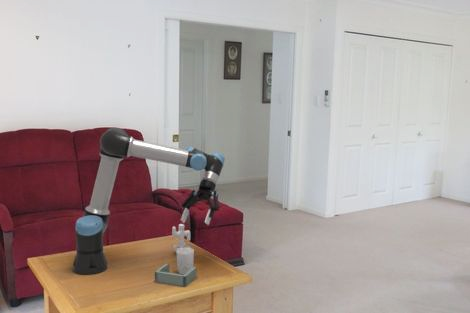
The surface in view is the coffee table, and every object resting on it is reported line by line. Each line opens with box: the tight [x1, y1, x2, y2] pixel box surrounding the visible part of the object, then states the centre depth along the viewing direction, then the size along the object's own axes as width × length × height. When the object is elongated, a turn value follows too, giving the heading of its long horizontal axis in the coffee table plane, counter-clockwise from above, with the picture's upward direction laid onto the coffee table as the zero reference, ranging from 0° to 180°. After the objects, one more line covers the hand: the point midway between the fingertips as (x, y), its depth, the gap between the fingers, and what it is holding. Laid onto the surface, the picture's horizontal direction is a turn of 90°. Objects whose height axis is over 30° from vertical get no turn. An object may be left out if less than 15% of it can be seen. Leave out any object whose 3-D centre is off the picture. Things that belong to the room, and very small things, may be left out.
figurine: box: [171, 223, 192, 254], centre depth 239 cm, size 7×9×15 cm
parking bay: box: [154, 262, 197, 288], centre depth 206 cm, size 14×11×4 cm
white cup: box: [175, 247, 195, 275], centre depth 215 cm, size 8×8×10 cm
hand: (194, 222), depth 218 cm, fingers open, 13 cm apart
